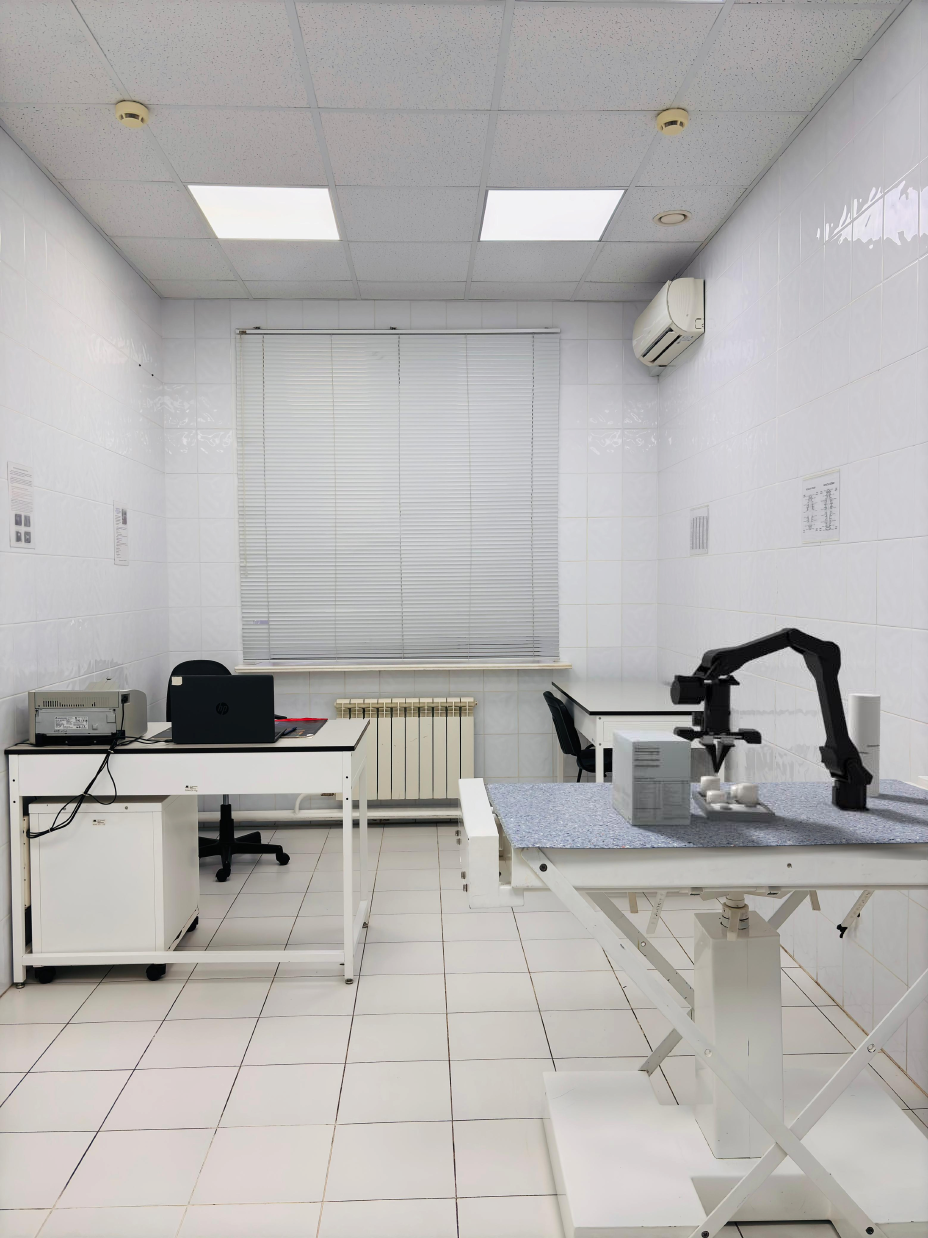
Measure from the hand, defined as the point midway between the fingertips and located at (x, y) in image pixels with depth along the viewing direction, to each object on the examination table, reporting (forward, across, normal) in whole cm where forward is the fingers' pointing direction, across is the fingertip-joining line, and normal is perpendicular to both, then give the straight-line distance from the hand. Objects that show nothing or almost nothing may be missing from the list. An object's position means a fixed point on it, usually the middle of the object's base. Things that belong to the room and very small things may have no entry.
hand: (716, 773), depth 185 cm
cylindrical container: (+9, -41, -23) cm, 48 cm away
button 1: (+7, 0, -7) cm, 10 cm away
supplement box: (+9, +16, +7) cm, 19 cm away
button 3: (+9, -7, -7) cm, 13 cm away
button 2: (+8, 0, 0) cm, 8 cm away
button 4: (+7, -7, 0) cm, 10 cm away
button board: (+9, -4, -1) cm, 9 cm away
